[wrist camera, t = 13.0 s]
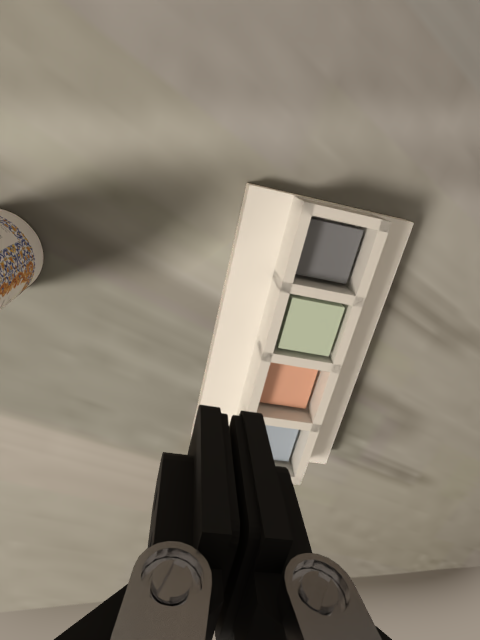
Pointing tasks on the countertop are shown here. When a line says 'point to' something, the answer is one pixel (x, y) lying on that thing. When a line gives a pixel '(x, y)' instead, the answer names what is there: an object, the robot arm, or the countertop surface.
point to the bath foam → (17, 256)
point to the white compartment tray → (269, 307)
